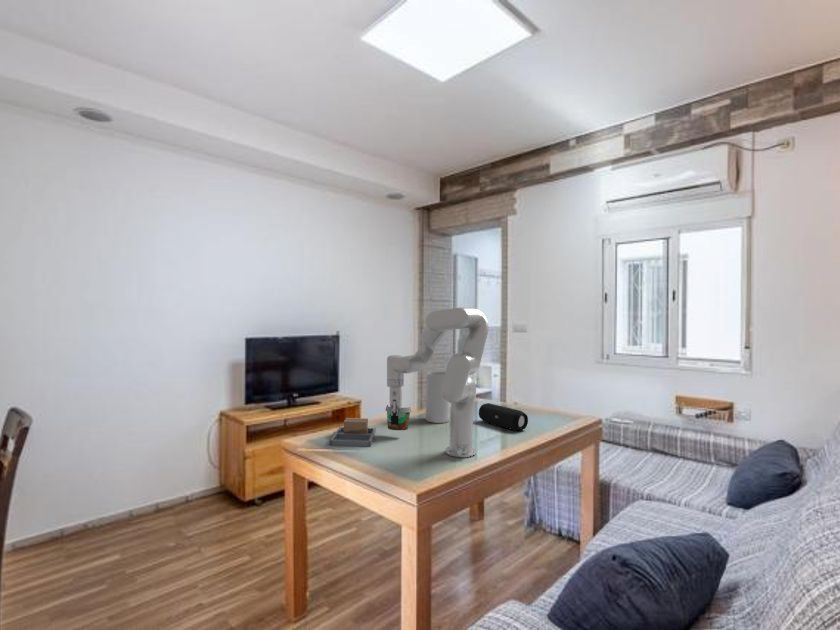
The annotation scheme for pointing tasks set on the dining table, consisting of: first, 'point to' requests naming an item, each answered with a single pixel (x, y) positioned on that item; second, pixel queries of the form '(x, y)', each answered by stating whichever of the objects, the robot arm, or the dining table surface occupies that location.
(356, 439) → the tray
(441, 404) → the cylinder vase
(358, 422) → the tan rectangular block
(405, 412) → the food container
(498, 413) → the portable speaker
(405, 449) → the dining table surface
